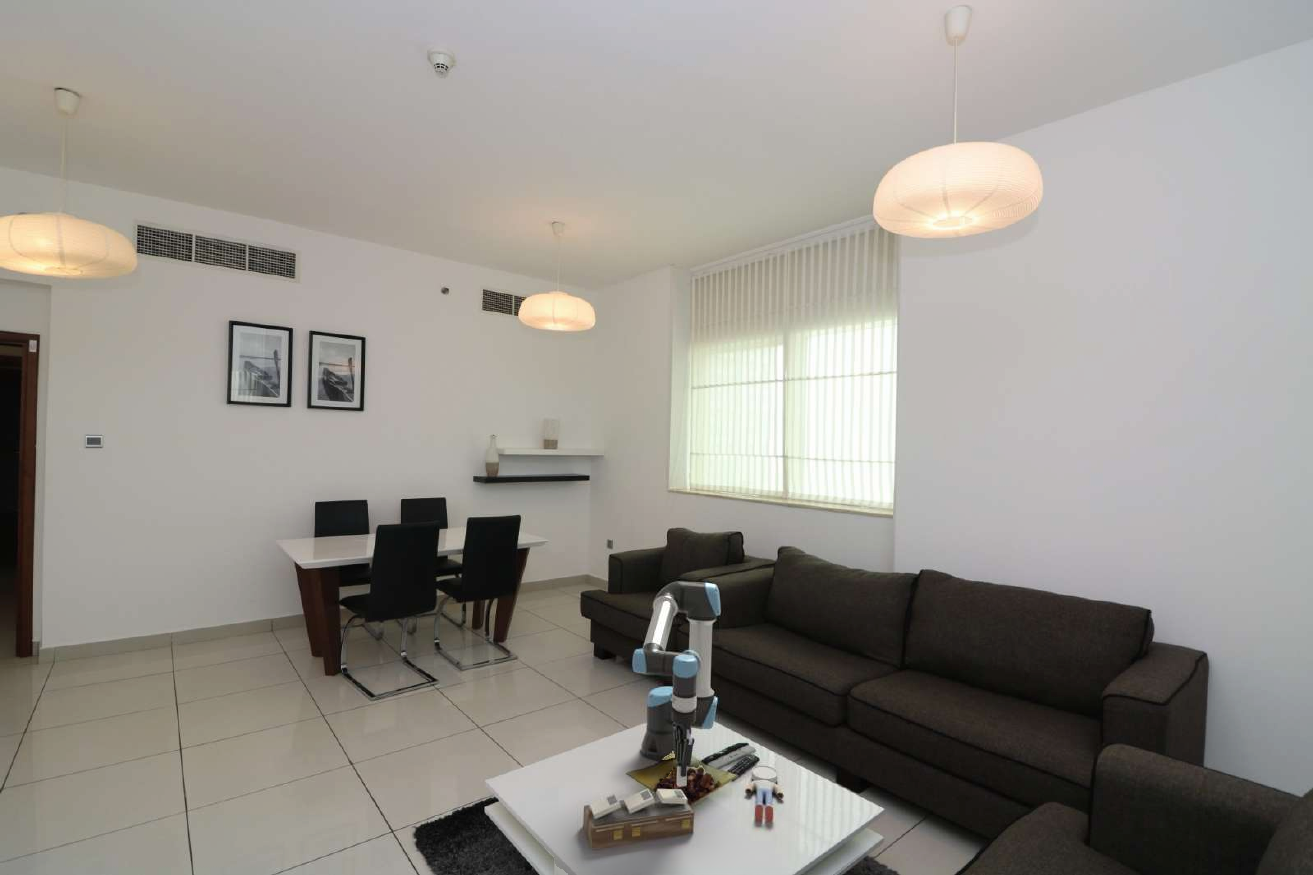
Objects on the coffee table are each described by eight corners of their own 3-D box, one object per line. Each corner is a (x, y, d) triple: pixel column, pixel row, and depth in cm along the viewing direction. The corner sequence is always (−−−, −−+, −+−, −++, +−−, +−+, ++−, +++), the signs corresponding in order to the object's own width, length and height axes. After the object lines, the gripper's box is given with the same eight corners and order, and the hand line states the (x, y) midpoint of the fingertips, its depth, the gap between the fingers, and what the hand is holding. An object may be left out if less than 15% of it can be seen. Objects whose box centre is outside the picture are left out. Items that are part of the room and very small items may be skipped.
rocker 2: (656, 793, 191) (657, 788, 191) (680, 794, 193) (681, 789, 193) (662, 803, 186) (663, 798, 186) (686, 803, 188) (687, 798, 188)
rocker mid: (624, 804, 188) (623, 799, 188) (649, 792, 190) (647, 788, 190) (629, 814, 182) (628, 809, 182) (654, 802, 185) (653, 797, 185)
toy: (785, 807, 192) (782, 760, 221) (743, 802, 194) (747, 755, 224) (784, 826, 192) (782, 776, 221) (743, 820, 194) (746, 771, 223)
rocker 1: (590, 808, 184) (589, 804, 184) (615, 797, 187) (614, 792, 187) (595, 819, 179) (593, 814, 179) (620, 807, 181) (619, 802, 181)
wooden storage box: (583, 826, 187) (584, 801, 187) (679, 811, 196) (680, 788, 197) (592, 850, 175) (593, 824, 175) (693, 833, 185) (694, 809, 185)
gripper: (665, 700, 197) (663, 776, 196) (680, 717, 184) (677, 798, 184) (687, 698, 199) (685, 772, 198) (703, 715, 187) (700, 794, 186)
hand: (681, 785), depth 191 cm, fingers closed
